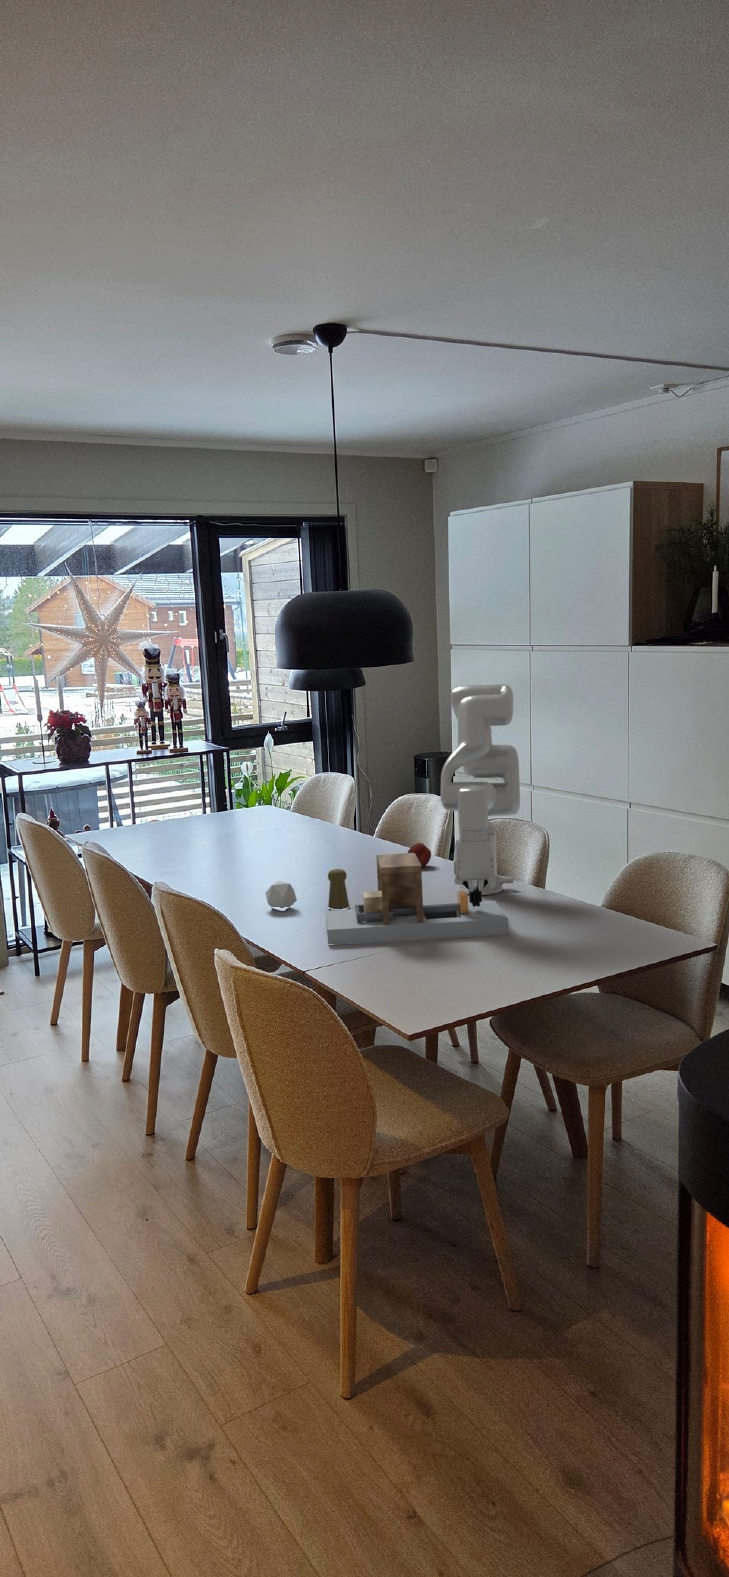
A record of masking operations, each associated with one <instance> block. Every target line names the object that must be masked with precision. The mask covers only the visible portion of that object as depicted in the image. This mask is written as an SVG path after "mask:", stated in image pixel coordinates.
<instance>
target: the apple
mask: <svg viewBox="0 0 729 1577" xmlns="http://www.w3.org/2000/svg"><path fill="white" fill-rule="evenodd" d="M407 853H415V855H416V856H417V858H418V860H419V862H420V864H421V868H424V867H426V866H427V865H428V864H429V862H430V861H431V858H432V852H431V849H430V848H428V846H426V845H425V843H423V842H417V843H414V844H413V845H412V846H411V847H409V849H408V851H407Z"/></svg>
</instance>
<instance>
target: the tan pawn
mask: <svg viewBox="0 0 729 1577" xmlns="http://www.w3.org/2000/svg"><path fill="white" fill-rule="evenodd" d="M327 879H328V881H329V892H328V904H327V905H328V906H327V908H328V907H330V908H333V909H343V908H347V907H350V902H349V896H348V891H347V886H346V879H347V872H346V871H345V870H344V869H342V868H341V869H340V868H334V869H331V870H329V871H328V874H327Z"/></svg>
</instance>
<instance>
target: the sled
mask: <svg viewBox="0 0 729 1577" xmlns="http://www.w3.org/2000/svg"><path fill="white" fill-rule="evenodd" d="M456 897H457V899H456V900H457V902H452V903H453V904H446V903H435V904H436V905H430V904H423V913H433V912H449V911H460V913H468V902H469V894H466V892H465V891H460V890H458V891H456ZM354 909H355V914H356V919H357V922H363V921H379V920H383V912H370V913H364V903H362V904H354ZM400 914H416V906H403V907H391V906H390V903H389V920H393V915H400Z"/></svg>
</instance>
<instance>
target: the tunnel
mask: <svg viewBox="0 0 729 1577" xmlns="http://www.w3.org/2000/svg"><path fill="white" fill-rule="evenodd" d="M376 874H377V876H376V877H377V891H382V911H383V925H387V924H389V903H390V906H391V907H403V906H416V913H417V923H420V922H423V905H424V900H423V899H424V897H423V878H422V877H423V873H422V867H421V864H420V862H419V860H418V858H417V856H416V855H415V853H408V852H406V853H391V854H390V853H388V854H376Z"/></svg>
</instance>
